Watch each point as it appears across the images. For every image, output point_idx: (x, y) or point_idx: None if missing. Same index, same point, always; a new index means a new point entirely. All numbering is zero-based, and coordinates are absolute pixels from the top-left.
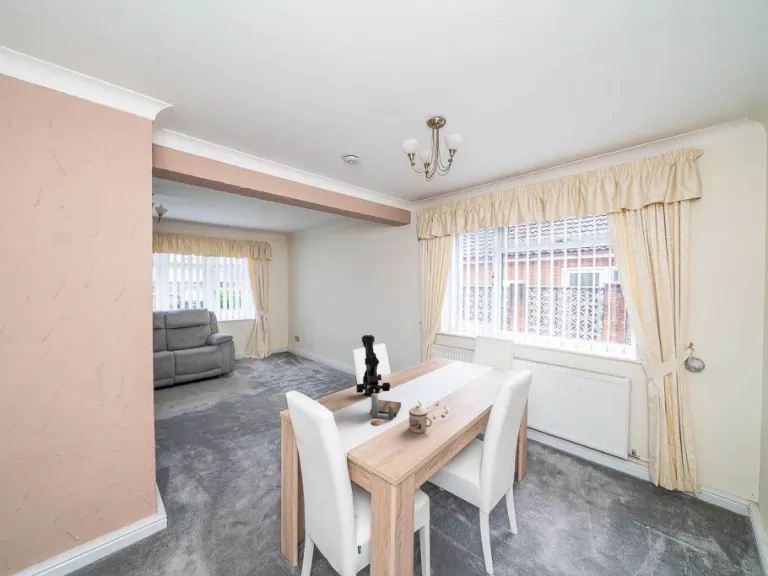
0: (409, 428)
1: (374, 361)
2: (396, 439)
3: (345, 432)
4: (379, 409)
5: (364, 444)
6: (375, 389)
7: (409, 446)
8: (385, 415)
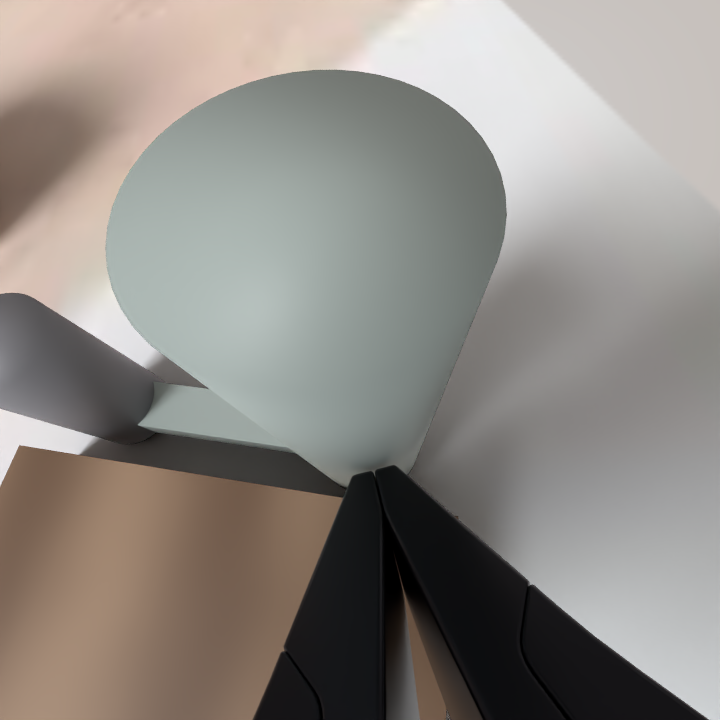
0: None
1: None
2: (146, 82)
3: (598, 99)
4: (290, 553)
5: (382, 8)
6: None
7: (72, 36)
8: (198, 392)
